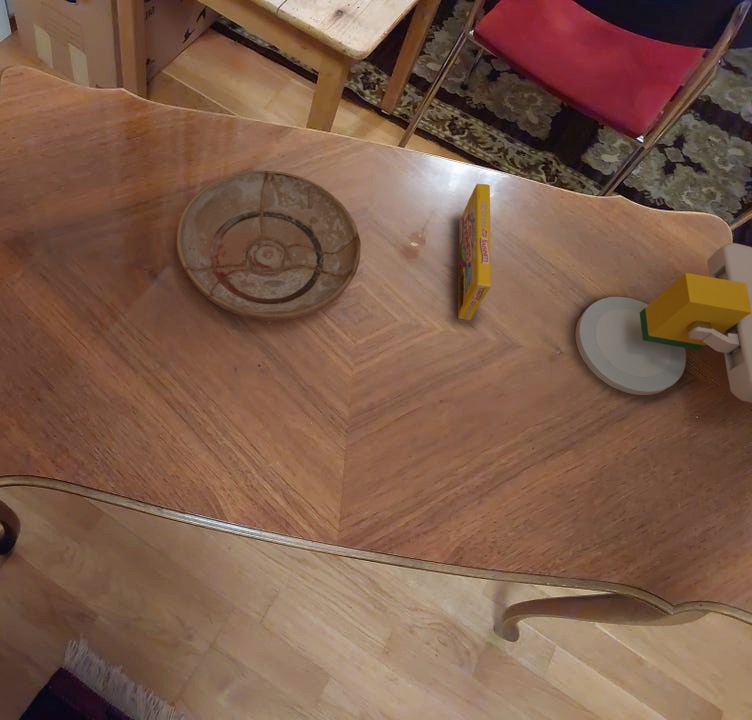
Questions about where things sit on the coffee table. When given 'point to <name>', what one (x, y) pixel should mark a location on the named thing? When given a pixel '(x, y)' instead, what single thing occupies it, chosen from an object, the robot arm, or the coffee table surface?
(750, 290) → the robot arm
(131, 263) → the coffee table surface
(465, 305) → the candy box
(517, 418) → the coffee table surface
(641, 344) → the plate
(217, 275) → the ceramic bowl
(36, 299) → the coffee table surface
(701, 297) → the sponge
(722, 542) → the coffee table surface
